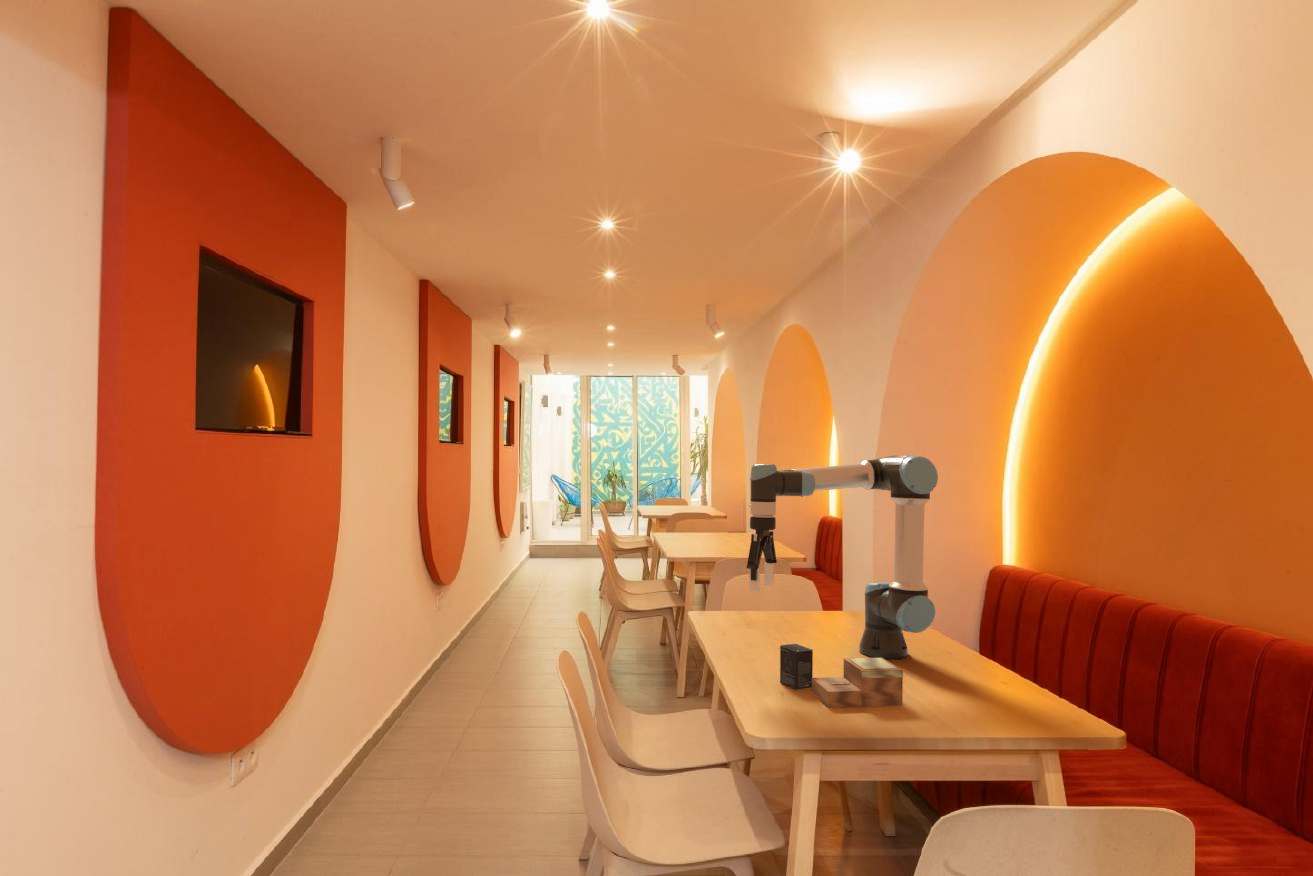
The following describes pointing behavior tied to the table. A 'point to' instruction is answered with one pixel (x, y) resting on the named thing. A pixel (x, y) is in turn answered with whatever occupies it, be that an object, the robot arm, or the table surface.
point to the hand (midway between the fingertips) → (761, 588)
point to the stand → (862, 684)
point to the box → (796, 666)
